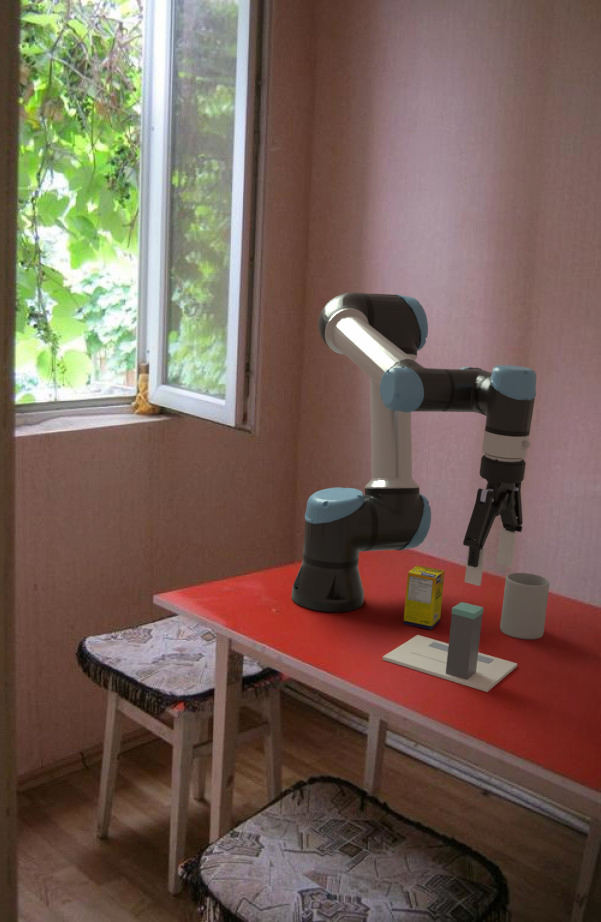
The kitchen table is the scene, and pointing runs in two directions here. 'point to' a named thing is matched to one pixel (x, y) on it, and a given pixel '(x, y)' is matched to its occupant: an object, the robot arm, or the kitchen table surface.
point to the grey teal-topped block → (464, 640)
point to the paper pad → (434, 660)
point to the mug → (524, 605)
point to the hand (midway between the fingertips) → (488, 574)
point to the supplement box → (423, 597)
